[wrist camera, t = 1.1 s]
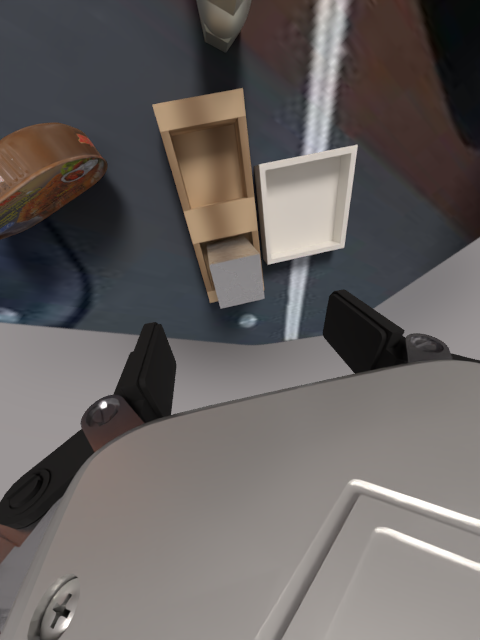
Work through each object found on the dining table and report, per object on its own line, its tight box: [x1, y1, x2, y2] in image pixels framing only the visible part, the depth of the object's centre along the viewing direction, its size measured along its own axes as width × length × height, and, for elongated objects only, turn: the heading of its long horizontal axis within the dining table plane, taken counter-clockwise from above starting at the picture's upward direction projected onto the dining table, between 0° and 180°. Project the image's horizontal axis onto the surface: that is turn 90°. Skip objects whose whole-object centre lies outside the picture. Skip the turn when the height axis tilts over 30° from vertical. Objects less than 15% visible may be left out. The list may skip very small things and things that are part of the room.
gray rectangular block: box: [206, 235, 265, 309], centre depth 24 cm, size 5×5×9 cm
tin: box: [0, 123, 107, 239], centre depth 18 cm, size 15×3×8 cm, turn 117°
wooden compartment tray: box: [153, 88, 264, 303], centre depth 24 cm, size 8×20×3 cm, turn 10°
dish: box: [254, 145, 358, 265], centre depth 26 cm, size 11×11×2 cm
